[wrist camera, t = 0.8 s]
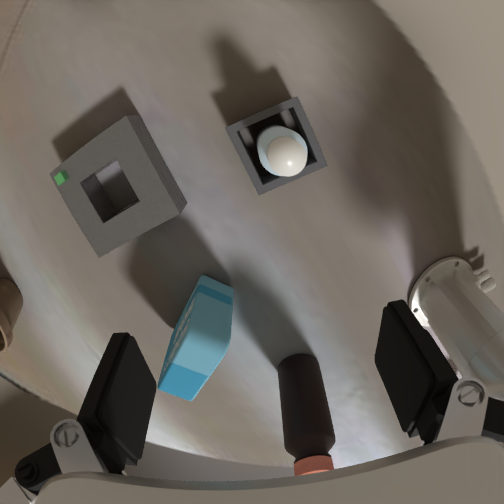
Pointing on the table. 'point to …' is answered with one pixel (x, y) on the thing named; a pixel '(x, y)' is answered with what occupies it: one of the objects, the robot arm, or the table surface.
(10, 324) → the flower pot
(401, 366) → the robot arm
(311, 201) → the table surface
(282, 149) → the plug
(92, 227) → the port
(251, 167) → the grey open box
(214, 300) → the data package
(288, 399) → the vinegar
